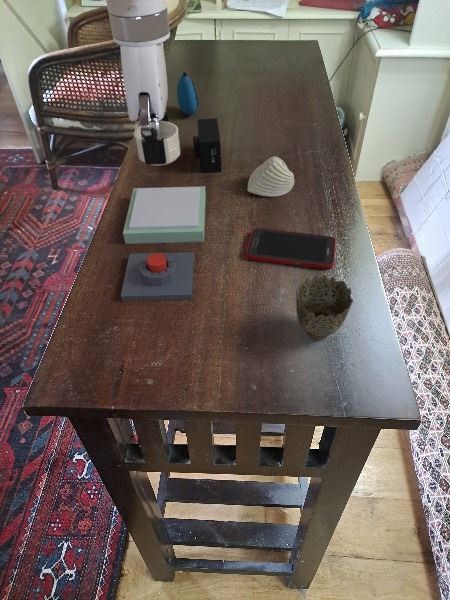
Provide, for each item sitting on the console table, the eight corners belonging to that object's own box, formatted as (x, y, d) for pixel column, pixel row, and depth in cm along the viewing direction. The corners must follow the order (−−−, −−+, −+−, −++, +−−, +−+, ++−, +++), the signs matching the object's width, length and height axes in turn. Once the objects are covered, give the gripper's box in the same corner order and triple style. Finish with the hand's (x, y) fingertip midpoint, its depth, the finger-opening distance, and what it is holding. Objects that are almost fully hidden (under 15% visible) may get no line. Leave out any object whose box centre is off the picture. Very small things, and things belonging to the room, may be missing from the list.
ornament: (203, 118, 114) (200, 76, 106) (185, 121, 112) (181, 79, 105) (191, 105, 119) (188, 64, 112) (175, 108, 118) (170, 67, 110)
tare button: (147, 273, 72) (145, 265, 71) (149, 260, 74) (147, 253, 73) (166, 272, 72) (165, 265, 71) (167, 260, 74) (166, 252, 73)
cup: (290, 312, 69) (295, 273, 63) (340, 313, 68) (349, 274, 63) (292, 351, 64) (297, 314, 58) (346, 353, 63) (356, 315, 58)
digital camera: (194, 149, 104) (191, 119, 98) (218, 147, 104) (217, 117, 99) (195, 173, 96) (193, 142, 91) (221, 171, 97) (220, 140, 91)
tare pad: (121, 301, 71) (118, 287, 69) (130, 258, 78) (127, 245, 76) (192, 299, 71) (190, 286, 69) (194, 257, 78) (193, 243, 76)
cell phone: (252, 231, 82) (252, 227, 82) (335, 241, 80) (336, 236, 79) (244, 259, 77) (244, 255, 76) (332, 270, 75) (333, 266, 74)
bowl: (135, 167, 71) (130, 142, 68) (141, 146, 76) (136, 121, 73) (179, 166, 71) (176, 141, 68) (182, 144, 76) (179, 120, 72)
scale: (125, 244, 81) (122, 230, 79) (135, 198, 91) (132, 185, 89) (204, 242, 81) (202, 228, 79) (205, 196, 90) (205, 183, 88)
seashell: (308, 179, 89) (285, 175, 83) (279, 208, 94) (256, 206, 88) (287, 148, 92) (264, 142, 86) (260, 178, 97) (236, 174, 91)
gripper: (121, 6, 66) (141, 126, 79) (99, 49, 54) (127, 181, 67) (173, 5, 66) (185, 124, 79) (162, 47, 54) (178, 180, 67)
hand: (158, 149), depth 73 cm, fingers closed on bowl, 6 cm apart
